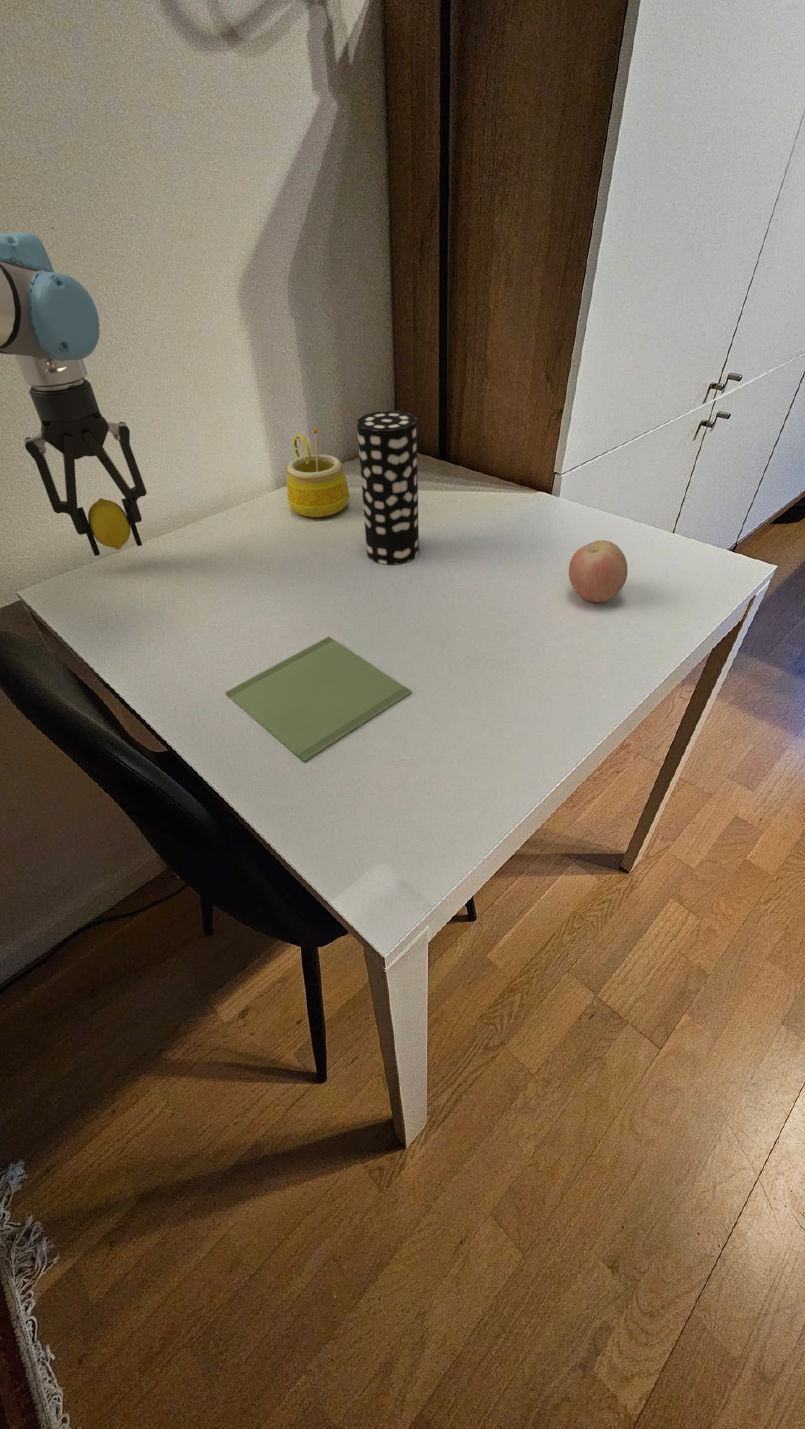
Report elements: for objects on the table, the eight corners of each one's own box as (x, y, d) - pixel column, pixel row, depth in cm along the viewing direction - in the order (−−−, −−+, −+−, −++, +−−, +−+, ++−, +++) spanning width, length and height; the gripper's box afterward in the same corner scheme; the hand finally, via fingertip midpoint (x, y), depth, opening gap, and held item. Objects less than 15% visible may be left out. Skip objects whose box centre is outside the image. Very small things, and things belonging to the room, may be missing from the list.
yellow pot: (348, 520, 109) (341, 450, 101) (285, 522, 110) (273, 452, 102) (353, 490, 119) (347, 423, 111) (295, 491, 119) (285, 425, 111)
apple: (585, 576, 93) (594, 526, 88) (631, 595, 89) (644, 543, 84) (553, 598, 89) (561, 546, 84) (600, 619, 85) (611, 566, 80)
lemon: (144, 543, 98) (127, 493, 93) (121, 559, 95) (103, 508, 89) (115, 539, 100) (97, 489, 95) (91, 555, 96) (71, 504, 91)
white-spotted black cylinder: (358, 559, 99) (346, 427, 86) (379, 536, 105) (371, 408, 91) (407, 568, 97) (403, 433, 83) (426, 543, 102) (425, 413, 89)
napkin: (304, 762, 68) (303, 760, 67) (225, 694, 76) (224, 692, 76) (411, 693, 75) (411, 690, 75) (328, 638, 84) (328, 636, 84)
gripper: (-21, 401, 76) (55, 572, 92) (136, 378, 82) (183, 543, 98) (-21, 386, 81) (51, 550, 97) (128, 366, 87) (173, 524, 103)
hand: (117, 546), depth 97 cm, fingers closed on lemon, 6 cm apart
